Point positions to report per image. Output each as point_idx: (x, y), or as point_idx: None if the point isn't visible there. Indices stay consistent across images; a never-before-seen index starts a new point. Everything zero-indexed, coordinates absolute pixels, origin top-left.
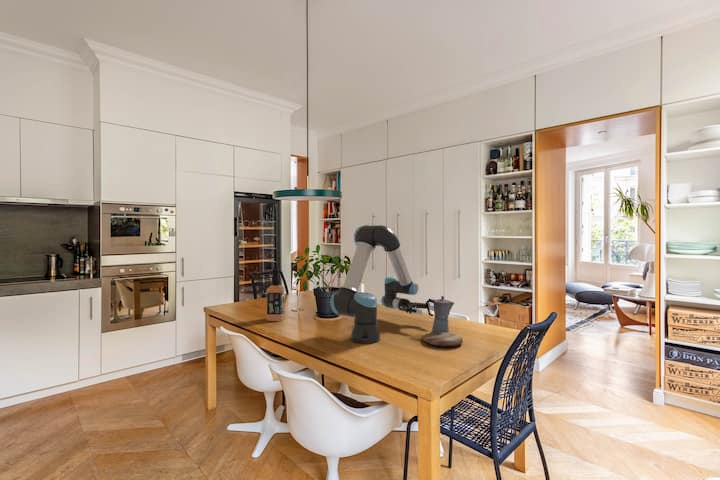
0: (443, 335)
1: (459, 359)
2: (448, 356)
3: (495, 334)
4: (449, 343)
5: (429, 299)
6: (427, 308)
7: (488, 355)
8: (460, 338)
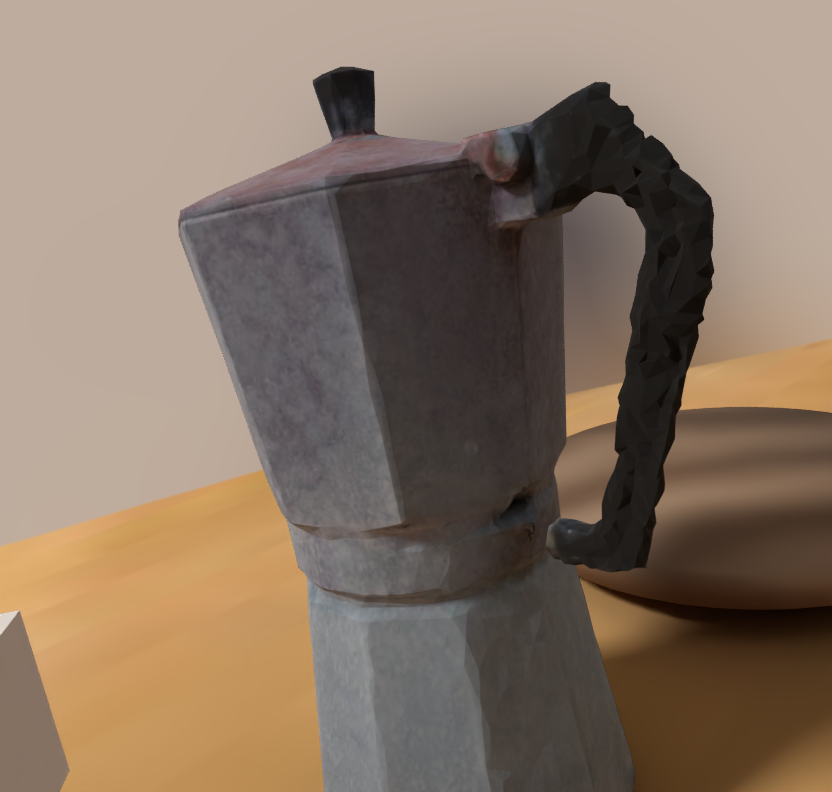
0: (680, 496)
1: (769, 382)
2: (823, 399)
3: (55, 574)
4: (740, 410)
5: (607, 103)
6: (673, 392)
7: None
8: (568, 446)
